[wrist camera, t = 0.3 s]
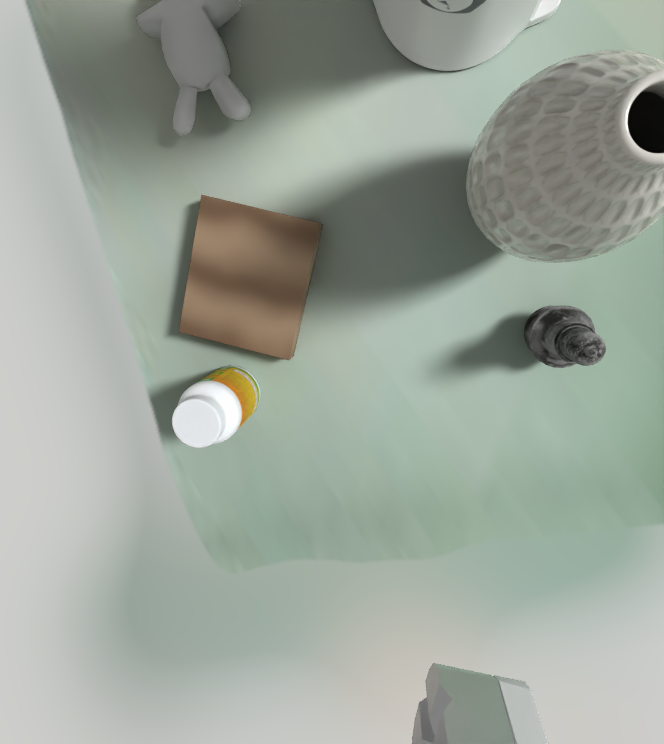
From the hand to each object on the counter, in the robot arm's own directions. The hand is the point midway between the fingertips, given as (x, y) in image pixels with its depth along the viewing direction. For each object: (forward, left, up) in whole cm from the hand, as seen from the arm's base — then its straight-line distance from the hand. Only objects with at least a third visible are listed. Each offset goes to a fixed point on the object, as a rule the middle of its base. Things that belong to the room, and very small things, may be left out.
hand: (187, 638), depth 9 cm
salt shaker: (-3, +19, -48) cm, 51 cm away
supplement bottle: (+11, -12, -48) cm, 50 cm away
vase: (-15, +12, -47) cm, 51 cm away
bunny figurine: (-21, -21, -48) cm, 56 cm away
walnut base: (-1, -12, -47) cm, 49 cm away
